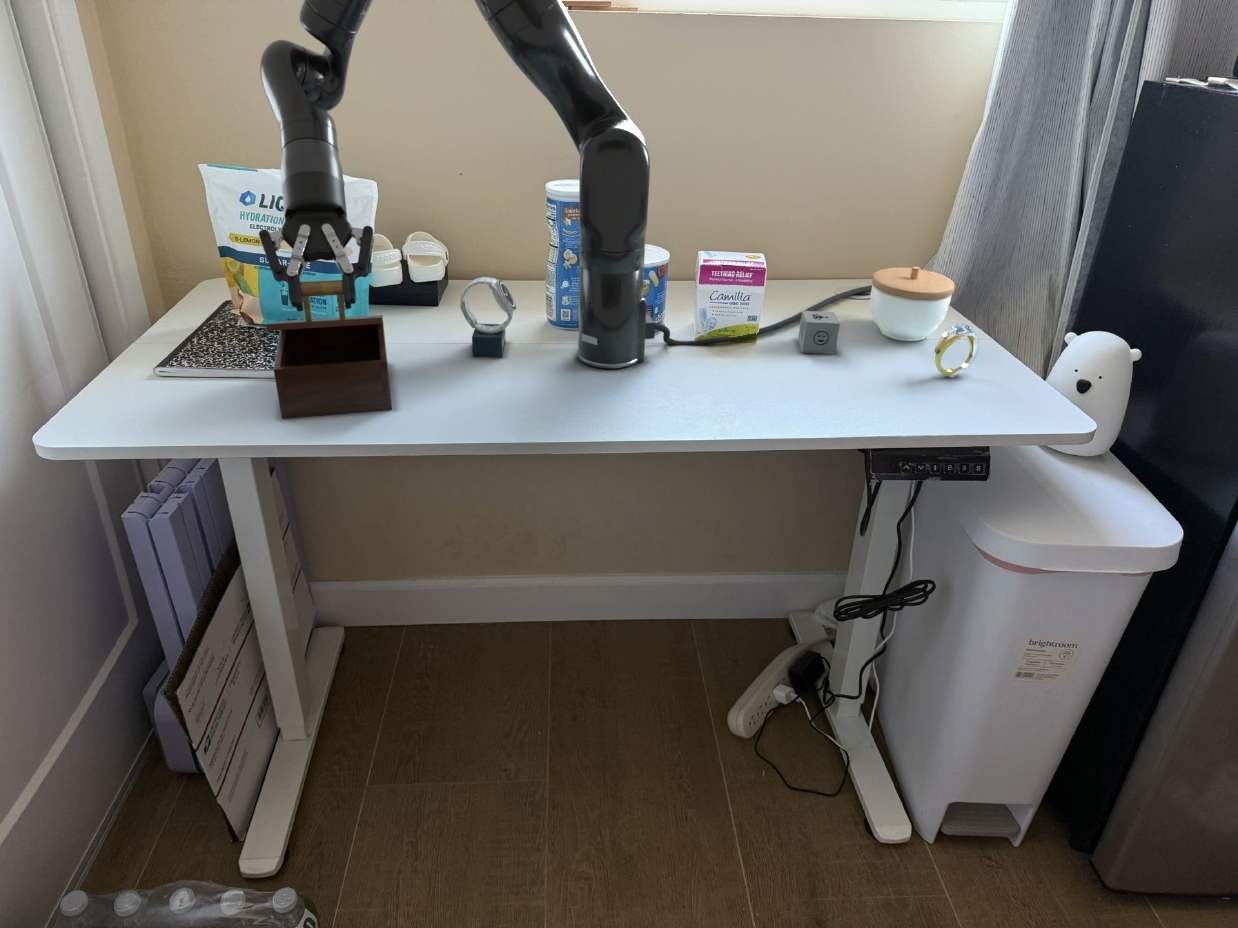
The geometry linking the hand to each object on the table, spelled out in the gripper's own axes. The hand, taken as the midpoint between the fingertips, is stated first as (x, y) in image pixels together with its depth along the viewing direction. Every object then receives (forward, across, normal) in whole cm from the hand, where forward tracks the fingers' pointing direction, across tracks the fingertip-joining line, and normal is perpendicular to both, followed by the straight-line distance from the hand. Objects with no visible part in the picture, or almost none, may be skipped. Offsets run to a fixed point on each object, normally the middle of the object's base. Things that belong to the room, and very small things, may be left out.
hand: (324, 306), depth 110 cm
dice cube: (+4, +72, +16) cm, 74 cm away
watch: (-2, +22, +21) cm, 31 cm away
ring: (+15, +87, +6) cm, 88 cm away
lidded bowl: (+2, +89, +18) cm, 91 cm away
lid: (-1, 0, +7) cm, 7 cm away
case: (+6, 0, +14) cm, 15 cm away
